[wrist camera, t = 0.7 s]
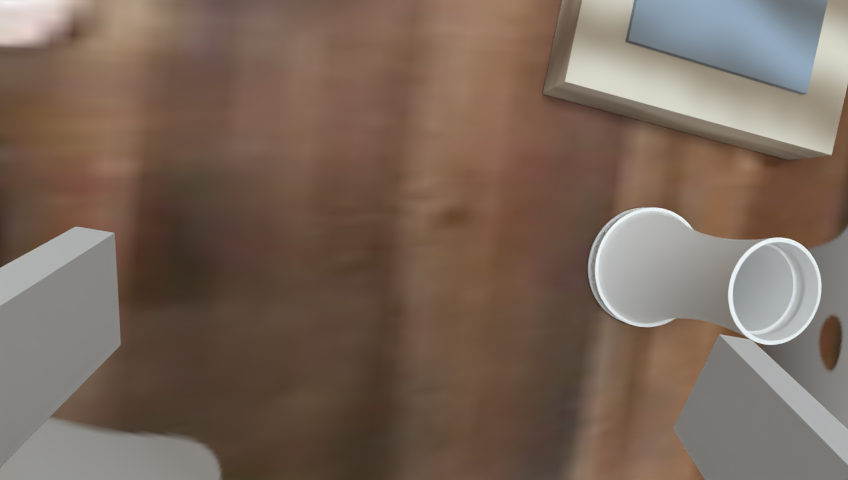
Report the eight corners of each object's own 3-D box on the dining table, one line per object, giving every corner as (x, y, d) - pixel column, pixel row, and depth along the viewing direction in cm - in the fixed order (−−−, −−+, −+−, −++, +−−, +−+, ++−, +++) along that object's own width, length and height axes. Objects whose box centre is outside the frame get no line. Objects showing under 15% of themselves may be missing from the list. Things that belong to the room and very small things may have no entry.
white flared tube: (646, 183, 32) (786, 172, 22) (713, 267, 33) (874, 293, 23) (564, 264, 31) (669, 289, 21) (635, 347, 32) (766, 407, 22)
